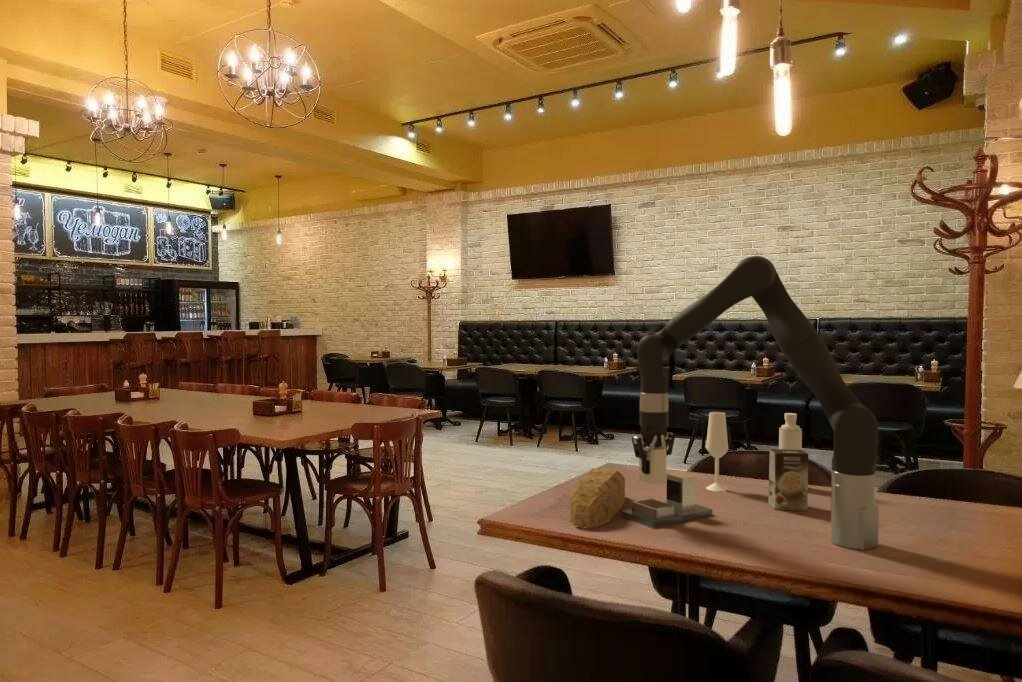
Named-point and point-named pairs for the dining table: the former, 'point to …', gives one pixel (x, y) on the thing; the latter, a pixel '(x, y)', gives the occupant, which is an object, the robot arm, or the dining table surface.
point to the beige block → (655, 467)
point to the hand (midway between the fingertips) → (653, 472)
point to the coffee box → (788, 479)
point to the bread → (597, 497)
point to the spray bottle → (790, 433)
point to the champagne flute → (717, 444)
